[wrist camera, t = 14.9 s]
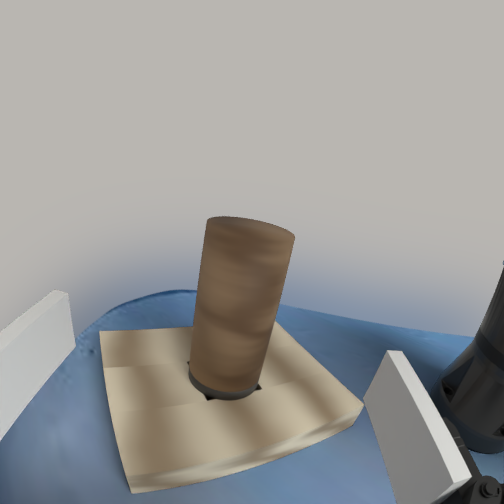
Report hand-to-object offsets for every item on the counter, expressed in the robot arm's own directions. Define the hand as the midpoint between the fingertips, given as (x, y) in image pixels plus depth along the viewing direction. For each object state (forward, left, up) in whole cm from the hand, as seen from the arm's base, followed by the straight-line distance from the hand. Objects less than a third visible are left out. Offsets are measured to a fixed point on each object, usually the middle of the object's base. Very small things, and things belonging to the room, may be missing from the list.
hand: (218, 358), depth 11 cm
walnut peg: (-6, -9, -13) cm, 17 cm away
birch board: (-6, -9, -13) cm, 17 cm away
